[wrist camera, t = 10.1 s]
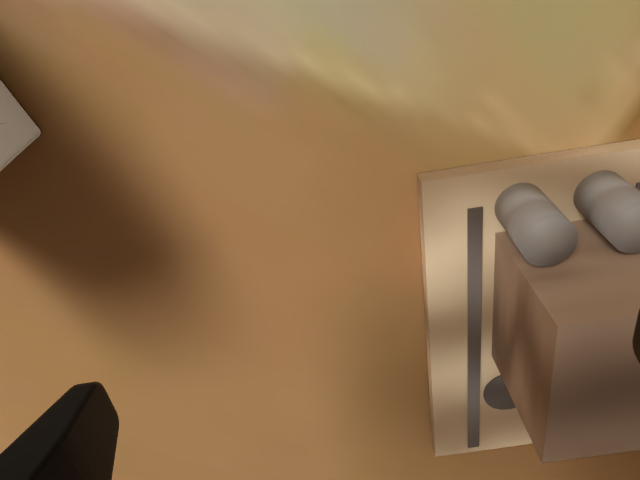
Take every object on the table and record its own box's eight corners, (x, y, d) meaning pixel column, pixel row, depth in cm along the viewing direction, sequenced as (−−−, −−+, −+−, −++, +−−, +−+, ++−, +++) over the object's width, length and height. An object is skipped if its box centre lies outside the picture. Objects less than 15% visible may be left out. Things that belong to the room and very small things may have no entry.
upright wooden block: (594, 340, 26) (671, 445, 20) (491, 355, 26) (542, 463, 21) (615, 214, 22) (715, 304, 17) (495, 232, 22) (557, 326, 17)
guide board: (626, 417, 30) (667, 478, 27) (432, 444, 30) (449, 507, 27) (691, 131, 21) (765, 169, 18) (417, 173, 21) (440, 218, 18)
